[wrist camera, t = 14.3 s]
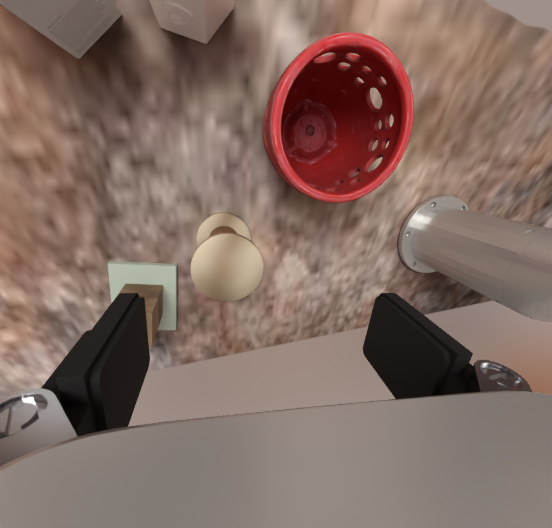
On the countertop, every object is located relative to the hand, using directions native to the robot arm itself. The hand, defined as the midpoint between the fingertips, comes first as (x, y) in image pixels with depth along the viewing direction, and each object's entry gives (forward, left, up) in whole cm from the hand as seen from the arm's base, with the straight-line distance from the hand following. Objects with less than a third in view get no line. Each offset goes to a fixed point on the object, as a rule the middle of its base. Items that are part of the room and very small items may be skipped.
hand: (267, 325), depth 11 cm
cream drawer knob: (0, +4, -26) cm, 27 cm away
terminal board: (+10, +13, -26) cm, 31 cm away
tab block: (+10, +13, -26) cm, 31 cm away
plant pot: (-9, -10, -27) cm, 30 cm away
